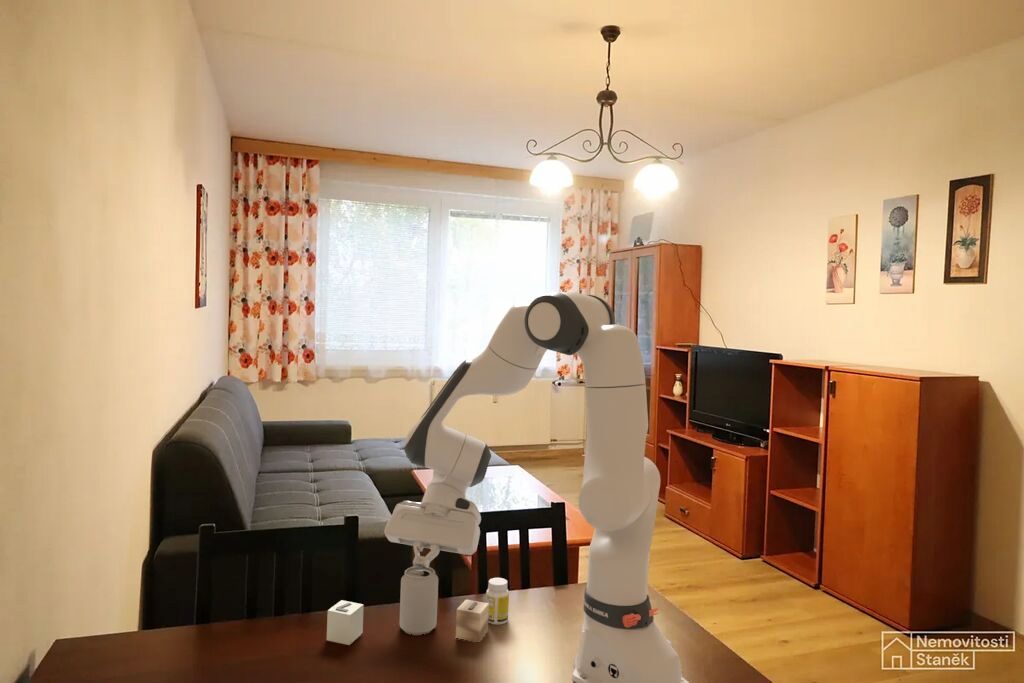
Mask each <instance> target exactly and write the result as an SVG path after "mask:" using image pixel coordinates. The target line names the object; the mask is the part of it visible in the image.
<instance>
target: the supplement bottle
mask: <svg viewBox="0 0 1024 683" xmlns="http://www.w3.org/2000/svg"><path fill="white" fill-rule="evenodd" d="M485 593H486V594H485V597H486V598H485V603H489V613H488V624H490V623H491V625H494V626H495V625H496V626H497V625H504V624H506V623H507V622H508V620H509V601H510V600H509V599H510V598H509V595H510V591H509V589H508V580H507V579H505V578H502V577H493V578H490V579H489V580H488V586H487V589H486V592H485Z"/></svg>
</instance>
